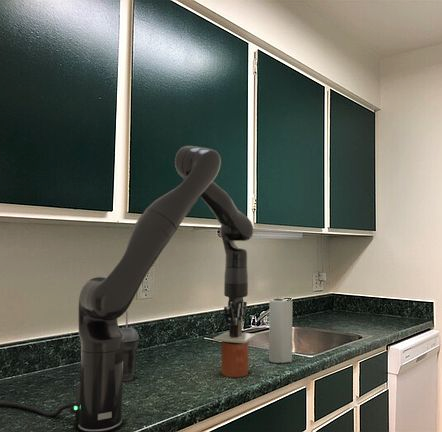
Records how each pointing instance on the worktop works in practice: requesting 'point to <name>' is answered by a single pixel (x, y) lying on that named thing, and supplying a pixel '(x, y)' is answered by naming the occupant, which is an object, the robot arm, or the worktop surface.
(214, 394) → the worktop surface
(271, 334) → the paper towel roll
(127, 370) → the beverage cup
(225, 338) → the lid
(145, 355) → the worktop surface
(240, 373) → the tumbler
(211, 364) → the worktop surface
